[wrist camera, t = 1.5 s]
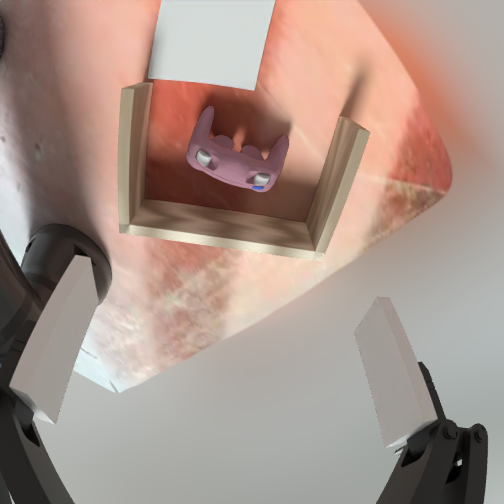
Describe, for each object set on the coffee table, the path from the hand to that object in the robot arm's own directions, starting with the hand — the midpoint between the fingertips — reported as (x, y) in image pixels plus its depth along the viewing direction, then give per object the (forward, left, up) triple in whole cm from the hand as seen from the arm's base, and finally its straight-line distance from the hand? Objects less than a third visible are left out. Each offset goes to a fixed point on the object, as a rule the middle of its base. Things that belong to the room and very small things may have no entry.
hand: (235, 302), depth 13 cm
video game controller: (0, +1, -23) cm, 23 cm away
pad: (-5, +12, -22) cm, 26 cm away
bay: (0, -2, -22) cm, 22 cm away
